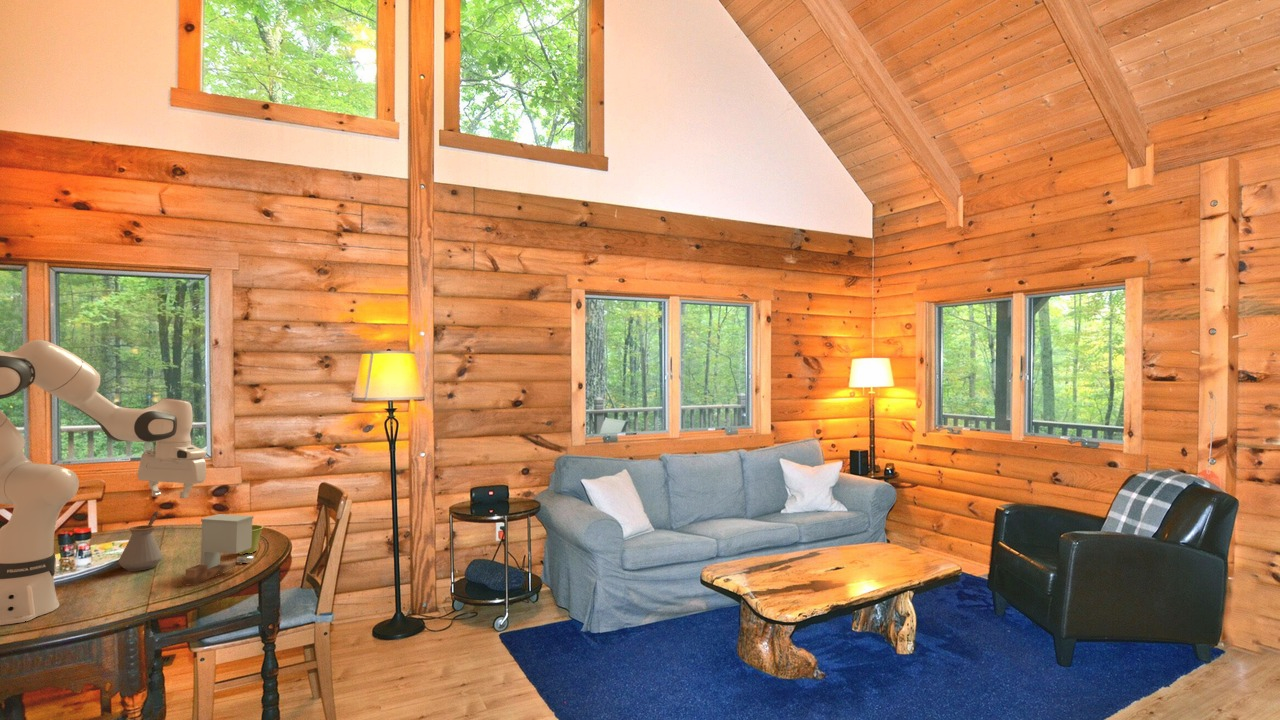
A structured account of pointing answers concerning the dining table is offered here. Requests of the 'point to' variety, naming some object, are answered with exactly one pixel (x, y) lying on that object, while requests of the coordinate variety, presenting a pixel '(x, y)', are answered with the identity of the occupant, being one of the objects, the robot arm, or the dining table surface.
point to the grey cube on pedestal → (224, 537)
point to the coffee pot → (141, 549)
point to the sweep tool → (206, 572)
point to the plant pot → (254, 538)
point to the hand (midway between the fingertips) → (170, 496)
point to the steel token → (245, 558)
